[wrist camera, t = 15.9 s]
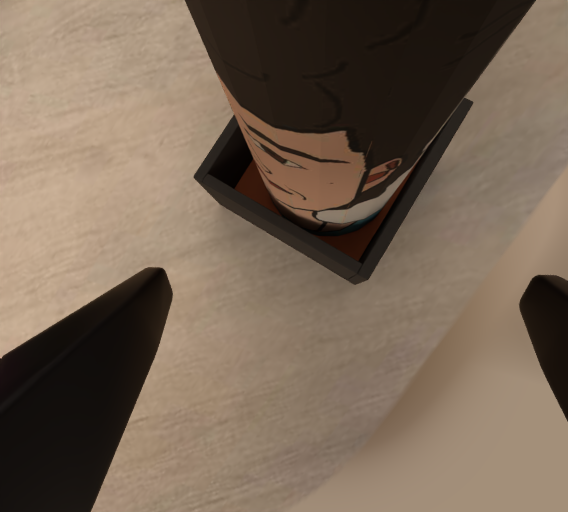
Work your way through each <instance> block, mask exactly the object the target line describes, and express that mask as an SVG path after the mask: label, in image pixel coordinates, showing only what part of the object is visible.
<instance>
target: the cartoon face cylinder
mask: <svg viewBox="0 0 568 512" xmlns="http://www.w3.org/2000/svg"><path fill="white" fill-rule="evenodd" d="M535 1H536V0H185V2H186V4H187V6H188V9H189V11H190V13H191V15H192V18H193V20H194V22H195V25H196V27H197V29H198V32H199V34H200V36H201V38H202V41H203V43H204V45H205V48H206V50H207V52H208V55H209V57H210V59H211V62H212V64H213V66H214V68H215V71H216V73H217V75H218V78H219V80H220V82H221V85H222V87H223V89H224V91H225V94H226V96H227V98H228V101H229V103H230V105H231V108H232V110H233V112H234V115H235V117H236V119H237V121H238V124H239V126H240V128H241V131H242V133H243V135H244V138H245V140H246V142H247V145H248V147H249V149H250V151H251V154H252V156H253V158H254V161H255V163H256V165H257V168H258V170H259V172H260V174H261V177H262V179H263V181H264V184H265V186H266V188H267V191H268V193H269V195H270V198H271V200H272V202H273V204H274V205H275V207H276V208H277V209H278V211H279V212H280V214H281V215H282V217H283V218H285V219H287V220H289V221H290V222H292V223H294V224H295V225H297V226H299V227H301V228H302V229H304V230H306V231H307V232H309V233H311V234H314V235H317V236H340V235H343V234H347V233H350V232H354V231H357V230H359V229H360V228H362V227H363V226H365V225H366V224H368V223H369V222H371V221H372V220H374V219H375V217H376V216H377V215H378V213H379V212H380V211H381V210H382V208H383V207H384V206H385V204H386V203H387V202H388V200H389V199H390V198H391V196H392V195H393V194H394V192H395V191H396V190H397V188H398V187H399V185H400V184H401V183H402V181H403V180H404V179H405V177H406V176H407V175H408V173H409V172H410V171H411V169H412V168H413V166H414V165H415V164H416V162H417V161H418V160H419V158H420V157H421V156H422V154H423V153H424V152H425V150H426V149H427V147H428V146H429V145H430V143H431V142H432V141H433V139H434V138H435V137H436V135H437V134H438V133H439V131H440V130H441V128H442V127H443V126H444V124H445V123H446V122H447V120H448V119H449V118H450V116H451V115H452V114H453V112H454V111H455V109H456V108H457V107H458V105H459V104H460V103H461V101H462V100H463V99H464V97H465V96H466V94H467V93H468V92H469V90H470V89H471V88H472V86H473V85H474V84H475V82H476V81H477V80H478V78H479V77H480V75H481V74H482V73H483V71H484V70H485V69H486V67H487V66H488V65H489V63H490V62H491V61H492V59H493V58H494V56H495V55H496V54H497V52H498V51H499V50H500V48H501V47H502V46H503V44H504V43H505V42H506V40H507V39H508V37H509V36H510V35H511V33H512V32H513V31H514V29H515V28H516V27H517V25H518V24H519V23H520V21H521V20H522V18H523V17H524V16H525V14H526V13H527V12H528V10H529V9H530V8H531V6H532V5H533V4H534V2H535Z"/></svg>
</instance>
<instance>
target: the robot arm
mask: <svg viewBox="0 0 568 512" xmlns="http://www.w3.org/2000/svg"><path fill="white" fill-rule="evenodd" d="M172 298H173V292H172V288H171V285H170V282H169V280H168V277H167V274H166V272H165V270H164V269H163V268H160V267H148V268H145V269H144V270H142V271H140V272H139V273H137V274H135V275H134V276H132V277H131V278H129V279H127V280H126V281H124V282H122V283H121V284H119V285H117V286H116V287H114V288H113V289H111V290H109V291H108V292H106V293H104V294H103V295H101V296H100V297H98V298H96V299H95V300H93V301H91V302H90V303H88V304H87V305H85V306H83V307H82V308H80V309H78V310H77V311H75V312H74V313H72V314H70V315H69V316H67V317H65V318H64V319H62V320H61V321H59V322H57V323H56V324H54V325H52V326H51V327H49V328H47V329H46V330H44V331H43V332H41V333H39V334H38V335H36V336H34V337H33V338H31V339H30V340H28V341H26V342H25V343H23V344H21V345H20V346H18V347H17V348H15V349H13V350H12V351H10V352H8V353H7V354H5V355H4V356H3V357H2V359H1V358H0V512H91V510H92V508H93V505H94V503H95V501H96V498H97V496H98V493H99V491H100V489H101V486H102V484H103V481H104V479H105V476H106V474H107V472H108V469H109V467H110V464H111V462H112V459H113V457H114V455H115V452H116V450H117V447H118V445H119V443H120V440H121V438H122V435H123V433H124V430H125V428H126V426H127V423H128V421H129V418H130V416H131V413H132V411H133V409H134V406H135V404H136V401H137V399H138V397H139V394H140V392H141V389H142V387H143V384H144V382H145V380H146V377H147V375H148V372H149V370H150V367H151V365H152V363H153V360H154V358H155V355H156V352H157V350H158V347H159V344H160V340H161V337H162V333H163V330H164V326H165V323H166V319H167V316H168V313H169V309H170V306H171V302H172ZM519 307H520V312H521V314H522V317H523V320H524V322H525V325H526V328H527V331H528V334H529V336H530V339H531V342H532V344H533V347H534V350H535V353H536V355H537V358H538V361H539V363H540V366H541V368H542V370H543V372H544V375H545V377H546V379H547V381H548V383H549V385H550V387H551V389H552V391H553V393H554V395H555V397H556V399H557V401H558V403H559V405H560V407H561V409H562V411H563V413H564V415H565V417H566V419H567V421H568V281H567V280H565V279H563V278H561V277H559V276H556V275H537V276H535V277H534V278H532V280H531V281H530V283H529V285H528V287H527V289H526V290H525V292H524V294H523V296H522V298H521V300H520V304H519Z"/></svg>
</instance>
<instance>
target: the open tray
mask: <svg viewBox="0 0 568 512" xmlns="http://www.w3.org/2000/svg"><path fill="white" fill-rule="evenodd" d="M472 105H473V101H470V100H468V99H466V98H464V99H463V100H462V101H461V103H460V104H459V105H458V107H457V108H456V109H455V111H454V112H453V114H452V115H451V116H450V118H449V119H448V120H447V122H446V123H445V124H444V126H443V127H442V128H441V130H440V131H439V133H438V134H437V135H436V137H435V138H434V139H433V141H432V142H431V143H430V145H429V146H428V147H427V149H426V150H425V152H424V153H423V154H422V156H421V157H420V158H419V160H418V161H417V162H416V164H415V165H414V166H413V168H412V169H411V171H410V172H409V173H408V175H407V176H406V177H405V179H404V180H403V181H402V183H401V184H400V185H399V187H398V188H397V190H396V191H395V192H394V194H393V195H392V196H391V198H390V199H389V200H388V202H387V203H386V204H385V206H384V207H383V208H382V210H381V211H380V212H379V213H378V215H377V216H376V217H375V219H374V220H372V221H371V222H369V223H368V224H366V225H365V226H363V227H362V228H360V229H359V230H357V231H354V232H350V233H347V234H343V235H340V236H317V235H314V234H311V233H309V232H307V231H306V230H304V229H302V228H301V227H299V226H297V225H295V224H294V223H292V222H290V221H289V220H287V219H285V218H283V217H282V215H281V214H280V212H279V211H278V209H277V208H276V207H275V205H274V204H273V202H272V200H271V198H270V195H269V193H268V191H267V188H266V186H265V184H264V181H263V179H262V177H261V174H260V172H259V170H258V168H257V165H256V163H255V161H254V158H253V156H252V154H251V151H250V149H249V147H248V145H247V142H246V140H245V138H244V135H243V133H242V131H241V128H240V126H239V124H238V121H237V119H236V117H235V115H233V117H232V118H231V120H230V122H229V123H228V125H227V126H226V128H225V129H224V131H223V132H222V134H221V135H220V137H219V138H218V140H217V141H216V143H215V144H214V146H213V147H212V149H211V150H210V152H209V154H208V155H207V157H206V158H205V160H204V161H203V163H202V164H201V166H200V167H199V169H198V170H197V172H196V173H195V175H194V179H195V180H196V181H197V182H198V183H199V184H200V185H201V186H202V187H203V188H204V189H205V190H206V191H207V192H208V193H209V194H210V195H211V196H212V197H213V198H214V199H215V200H216V201H217V202H218V203H219V204H221V205H222V206H224V207H226V208H227V209H229V210H231V211H232V212H234V213H236V214H237V215H239V216H241V217H242V218H244V219H246V220H247V221H249V222H251V223H252V224H254V225H256V226H257V227H259V228H261V229H262V230H264V231H266V232H267V233H269V234H271V235H272V236H274V237H276V238H277V239H279V240H281V241H282V242H284V243H286V244H288V245H289V246H291V247H293V248H294V249H296V250H298V251H299V252H301V253H303V254H304V255H306V256H308V257H309V258H311V259H313V260H314V261H316V262H318V263H319V264H321V265H323V266H324V267H326V268H328V269H329V270H331V271H333V272H334V273H336V274H338V275H339V276H341V277H343V278H344V279H346V280H348V281H349V282H351V283H353V284H354V285H356V284H359V283H361V282H364V281H367V280H368V279H369V277H370V276H371V274H372V272H373V271H374V269H375V267H376V266H377V264H378V262H379V261H380V259H381V257H382V256H383V254H384V252H385V251H386V249H387V247H388V246H389V244H390V242H391V241H392V239H393V237H394V236H395V234H396V232H397V230H398V229H399V227H400V225H401V224H402V222H403V220H404V219H405V217H406V215H407V214H408V212H409V210H410V209H411V207H412V205H413V204H414V202H415V200H416V199H417V197H418V195H419V194H420V192H421V190H422V188H423V187H424V185H425V183H426V182H427V180H428V178H429V177H430V175H431V173H432V172H433V170H434V168H435V167H436V165H437V163H438V162H439V160H440V158H441V157H442V155H443V153H444V152H445V150H446V148H447V147H448V145H449V143H450V141H451V140H452V138H453V136H454V135H455V133H456V131H457V130H458V128H459V126H460V125H461V123H462V121H463V120H464V118H465V116H466V115H467V113H468V111H469V110H470V108H471V106H472Z"/></svg>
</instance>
